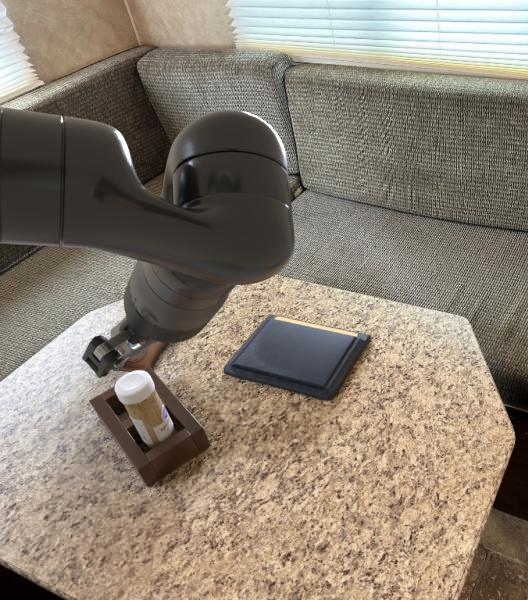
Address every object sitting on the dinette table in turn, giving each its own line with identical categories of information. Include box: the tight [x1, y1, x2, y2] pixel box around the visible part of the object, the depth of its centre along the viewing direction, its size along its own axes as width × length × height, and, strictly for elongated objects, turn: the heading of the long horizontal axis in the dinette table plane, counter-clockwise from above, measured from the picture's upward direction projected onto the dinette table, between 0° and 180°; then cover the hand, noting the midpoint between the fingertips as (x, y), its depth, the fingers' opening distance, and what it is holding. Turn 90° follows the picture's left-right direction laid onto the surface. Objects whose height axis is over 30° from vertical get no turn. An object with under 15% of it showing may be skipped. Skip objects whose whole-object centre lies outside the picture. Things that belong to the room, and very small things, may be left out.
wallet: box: [222, 313, 372, 401], centre depth 98 cm, size 20×2×15 cm
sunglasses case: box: [118, 341, 170, 373], centre depth 105 cm, size 18×7×7 cm
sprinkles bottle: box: [114, 371, 178, 452], centre depth 82 cm, size 5×5×14 cm
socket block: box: [88, 367, 212, 488], centre depth 88 cm, size 10×17×4 cm, turn 42°
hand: (147, 337), depth 64 cm, fingers open, 8 cm apart
